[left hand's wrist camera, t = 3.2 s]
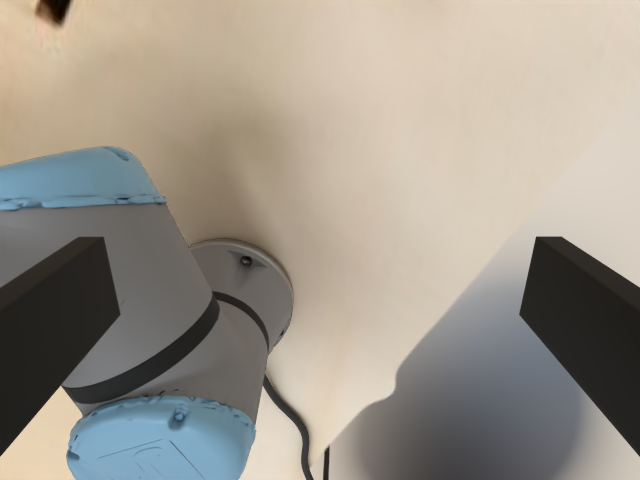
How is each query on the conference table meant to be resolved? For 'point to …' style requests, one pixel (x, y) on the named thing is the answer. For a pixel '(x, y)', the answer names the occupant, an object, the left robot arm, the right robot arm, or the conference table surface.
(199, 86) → the conference table surface
